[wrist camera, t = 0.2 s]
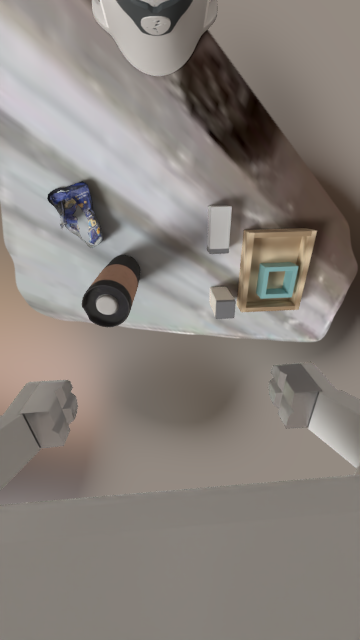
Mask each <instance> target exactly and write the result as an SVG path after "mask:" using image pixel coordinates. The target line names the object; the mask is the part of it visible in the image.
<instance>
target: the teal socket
mask: <svg viewBox="0 0 360 640" xmlns="http://www.w3.org/2000/svg"><path fill="white" fill-rule="evenodd" d="M298 267H299V266H297V265H296V264H294V263H292V262H280V263H260V266H259V274H258V281H257V288H256V294H257V295H258V296H259V297H260V298H261V299H265V298H288V297H292V295H293V290H294V285H295V281H296V276H297V271H298ZM276 271H285V276H284V281H283V286H282V288H274V289H267V283H268V276H269V272H276Z"/></svg>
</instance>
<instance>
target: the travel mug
mask: <svg viewBox="0 0 360 640" xmlns="http://www.w3.org/2000/svg"><path fill="white" fill-rule="evenodd" d="M139 278H140V267H139V265H138V263H137V262H136V260H134V259H133V258H132V257H129V256H126V255H121V256H117V257H116V258H114V259H113V260H112V261H111V262H110V263H109V264H108V265H107V266H106V267H105V268H104V269H103V270H102V272H101V273H100V274H99V276H98V277H97V278H96V279H95V281H94V282H93V283H92V285H91V286H90V287H89V289H88V290H87V291H86V293H85V294H84V297H83V300H82V307H83V308H84V310H85V312H86V313H87V315H88V317H89V320H90V321H92V322H93V323H95V324H97V325H99V326H103V327H114V326H117V325H120V324H121V323H123V322H124V321H125V320H126V319H127V317H128V315H129V313H130V310H131V306H132V303H133V300H134V297H135V294H136V291H137V287H138V282H139Z"/></svg>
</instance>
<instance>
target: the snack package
mask: <svg viewBox="0 0 360 640" xmlns="http://www.w3.org/2000/svg"><path fill="white" fill-rule="evenodd" d="M60 190H63V191H67V190H70V191H68V192H67V193H66V192H59V193H57V192H58V191H60ZM52 197H53V198H54V199H52ZM47 199H48V201H49V202H50V203H51V204H52V205H53V206H54V207H55V208H56V209H57V211H58V213H59V214H60V218H61V224H60V226H61V228H63V226H64V225H65V227H66V228H67V229H68V230H69V231H71V232H72V233H73V234H76V235H77V236H78V237H80V239H81V240H83V239H82V237H81V235H80V233H79V232H80V230H79V228H78V223H77V218H76V217H74V216H73V214H74V212H75V211H76V208H77V205H79V206H80V207H81V209H82V211H83V212H84V213H85V215H86V216H87V219H88V223H89V233H88V234H89V242H90V243H92V244H94V245H90V244H88V243H87V242H86V241H84V240H83V241H84V242H85V243H86V244H87V245H88V246H89V247H90V248H93V247H95V246H97V245H98V244H99V243H100V242H101V241H102V240H103V237H102V232H101V227H100V224H99V222H98V220H97V217H96V215H95V214H94V212H93V204H92V199H91V196H90V192H89V189H88V186H87V184H86V183H85V182H79V183H76V184H74V185H71V186H69V187H66V188H58V189H55V190H53V191H51V192H50V193H49V194H48V198H47ZM69 203H72V204H74V203H75V205H74V206H72V207H71V208H69V209H65V208H67V207H68V205H69Z"/></svg>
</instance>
